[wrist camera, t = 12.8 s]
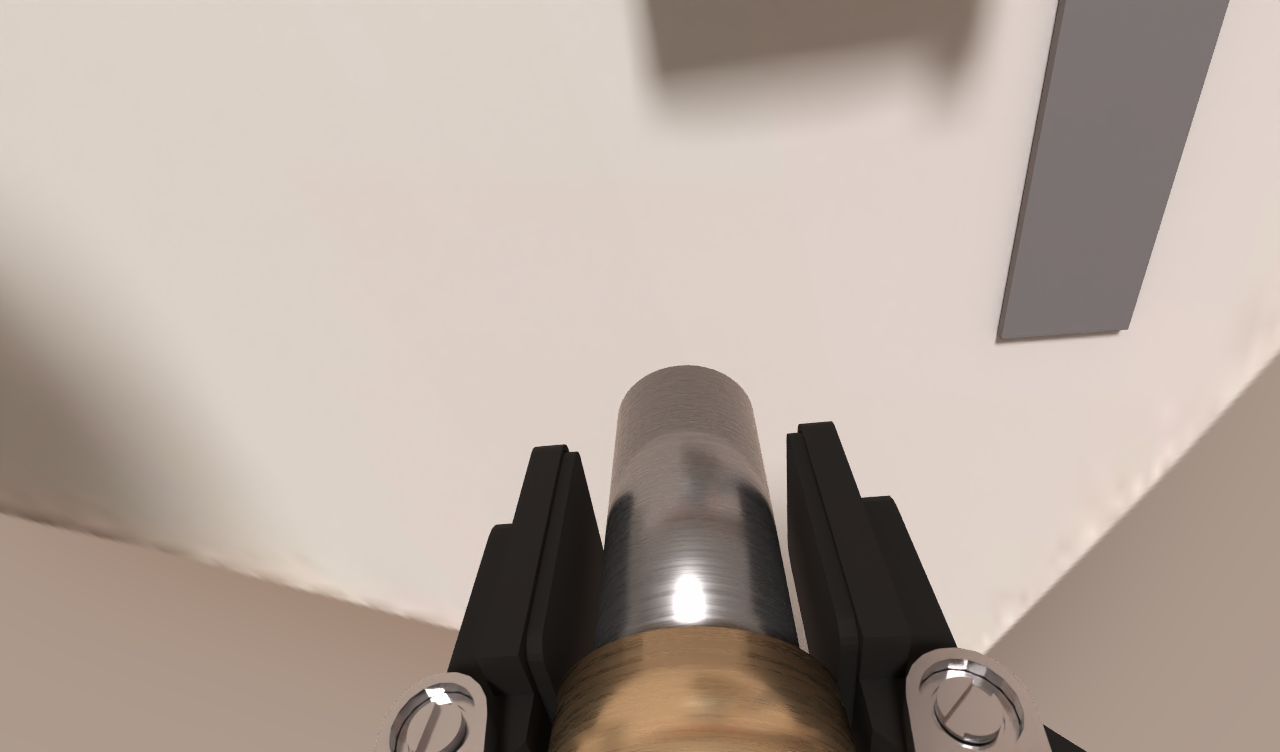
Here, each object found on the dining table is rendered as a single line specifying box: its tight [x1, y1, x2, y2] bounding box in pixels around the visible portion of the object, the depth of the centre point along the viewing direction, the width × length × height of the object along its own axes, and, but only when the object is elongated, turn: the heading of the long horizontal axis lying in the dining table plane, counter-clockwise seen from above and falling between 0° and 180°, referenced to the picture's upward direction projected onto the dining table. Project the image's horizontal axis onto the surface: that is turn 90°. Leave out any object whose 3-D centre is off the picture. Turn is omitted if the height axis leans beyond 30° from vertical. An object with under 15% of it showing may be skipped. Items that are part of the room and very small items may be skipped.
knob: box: [548, 365, 856, 752], centre depth 10 cm, size 4×4×8 cm
